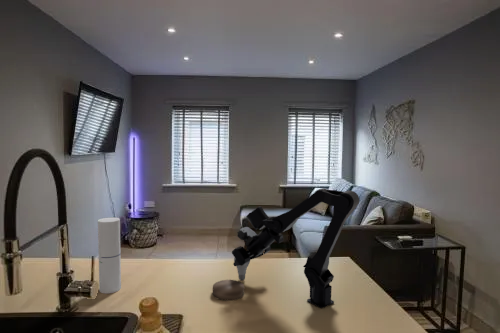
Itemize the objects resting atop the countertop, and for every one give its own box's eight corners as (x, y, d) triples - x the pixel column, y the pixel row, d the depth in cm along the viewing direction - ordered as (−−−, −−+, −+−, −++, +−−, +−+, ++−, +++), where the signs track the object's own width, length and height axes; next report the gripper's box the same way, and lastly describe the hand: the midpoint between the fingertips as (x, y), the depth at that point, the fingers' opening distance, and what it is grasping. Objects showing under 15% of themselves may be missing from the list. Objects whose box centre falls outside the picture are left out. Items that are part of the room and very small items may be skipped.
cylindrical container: (113, 294, 120) (112, 222, 118) (95, 292, 122) (93, 221, 120) (124, 285, 127) (123, 218, 125) (107, 283, 129) (105, 216, 127)
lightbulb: (250, 277, 136) (250, 249, 135) (248, 284, 130) (249, 255, 129) (235, 276, 137) (235, 249, 136) (232, 283, 131) (232, 254, 130)
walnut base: (250, 294, 122) (250, 287, 121) (224, 303, 115) (224, 296, 115) (231, 283, 130) (232, 277, 130) (206, 291, 123) (206, 284, 123)
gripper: (264, 217, 137) (241, 239, 144) (236, 226, 122) (211, 251, 129) (281, 240, 134) (256, 262, 141) (255, 253, 118) (228, 277, 125)
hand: (239, 262), depth 134 cm, fingers closed on lightbulb, 6 cm apart
